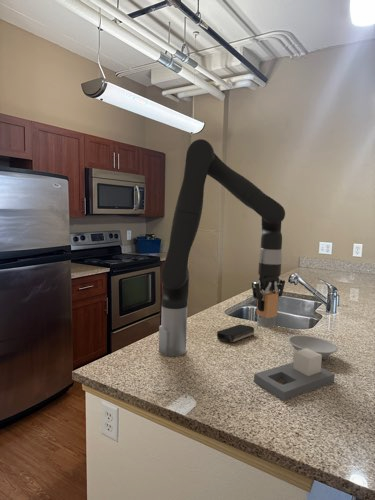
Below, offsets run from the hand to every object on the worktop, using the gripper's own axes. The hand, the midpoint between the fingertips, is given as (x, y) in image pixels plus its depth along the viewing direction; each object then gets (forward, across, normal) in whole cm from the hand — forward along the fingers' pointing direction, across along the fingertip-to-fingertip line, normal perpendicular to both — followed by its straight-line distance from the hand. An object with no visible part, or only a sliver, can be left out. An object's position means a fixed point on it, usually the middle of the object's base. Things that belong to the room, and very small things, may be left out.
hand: (267, 309), depth 119 cm
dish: (+18, +16, -7) cm, 25 cm away
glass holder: (+18, +24, +28) cm, 41 cm away
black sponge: (+18, +4, +21) cm, 28 cm away
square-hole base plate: (+18, -4, -17) cm, 25 cm away
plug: (+2, 0, 0) cm, 2 cm away
